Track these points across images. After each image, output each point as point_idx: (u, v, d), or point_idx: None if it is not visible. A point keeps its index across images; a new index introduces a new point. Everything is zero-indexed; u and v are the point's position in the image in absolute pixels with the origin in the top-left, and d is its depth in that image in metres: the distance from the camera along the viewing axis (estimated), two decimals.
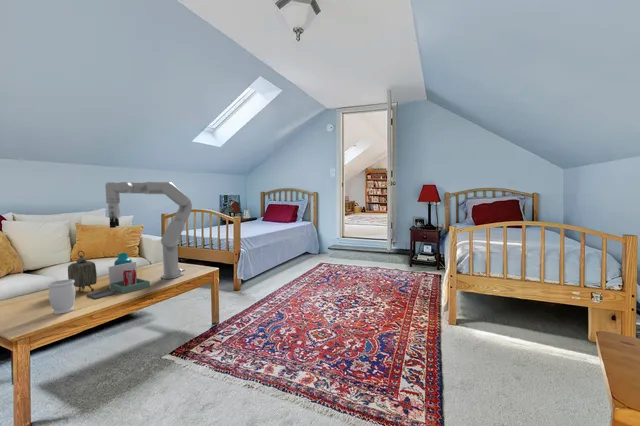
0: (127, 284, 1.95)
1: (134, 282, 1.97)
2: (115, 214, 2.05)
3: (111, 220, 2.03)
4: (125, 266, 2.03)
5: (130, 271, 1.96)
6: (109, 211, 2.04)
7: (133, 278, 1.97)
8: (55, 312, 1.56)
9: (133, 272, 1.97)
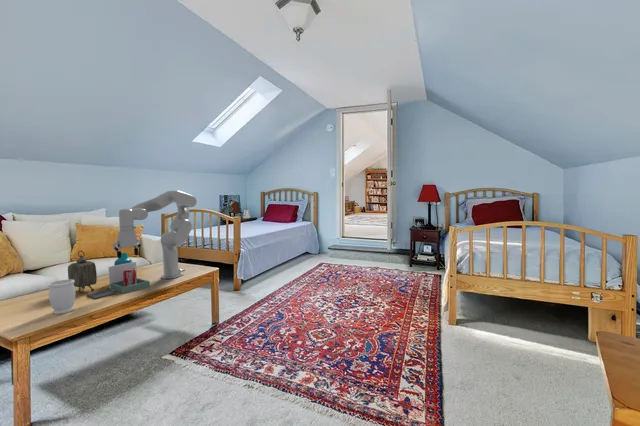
0: (127, 284, 1.95)
1: (134, 282, 1.97)
2: None
3: None
4: (125, 266, 2.03)
5: (130, 271, 1.96)
6: (136, 238, 2.00)
7: (133, 278, 1.97)
8: (55, 312, 1.56)
9: (133, 272, 1.97)
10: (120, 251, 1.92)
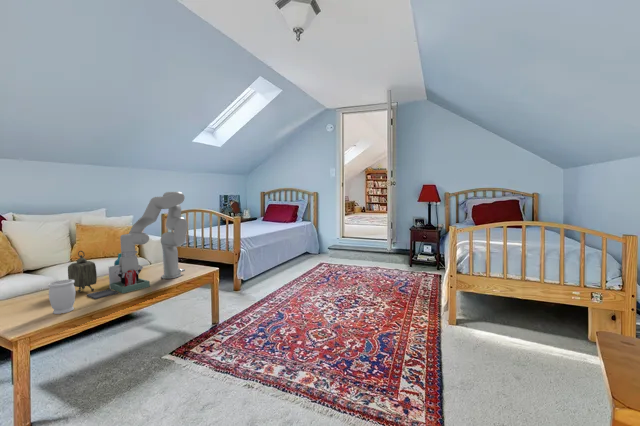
0: (127, 284, 1.95)
1: (134, 282, 1.97)
2: None
3: None
4: None
5: (130, 271, 1.96)
6: None
7: (133, 278, 1.97)
8: (55, 312, 1.56)
9: (133, 272, 1.97)
10: (124, 277, 1.94)
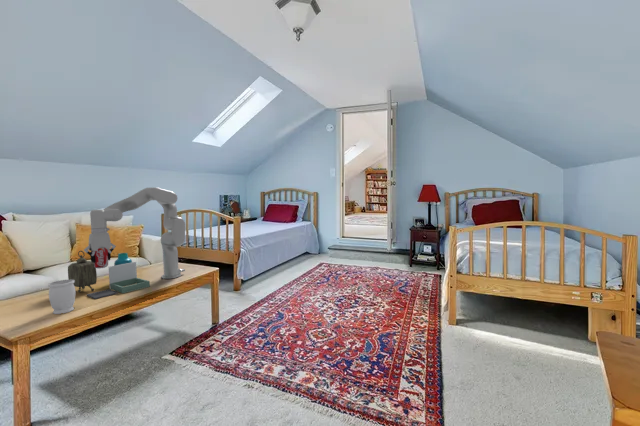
0: (97, 263, 1.81)
1: (105, 261, 1.84)
2: None
3: None
4: (125, 266, 2.03)
5: (101, 249, 1.82)
6: None
7: (104, 257, 1.83)
8: (55, 312, 1.56)
9: (104, 250, 1.83)
10: (94, 256, 1.81)
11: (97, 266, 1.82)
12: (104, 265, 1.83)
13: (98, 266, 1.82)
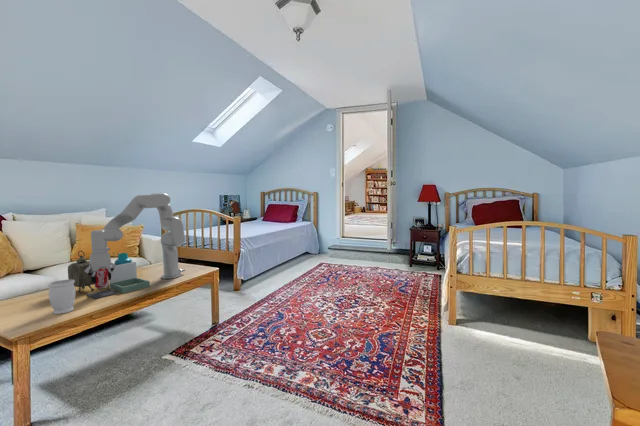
0: (98, 283, 1.82)
1: (106, 281, 1.84)
2: None
3: None
4: (125, 266, 2.03)
5: (101, 269, 1.83)
6: (110, 260, 1.88)
7: (105, 277, 1.84)
8: (55, 312, 1.56)
9: (105, 270, 1.84)
10: (94, 276, 1.81)
11: (98, 286, 1.82)
12: (105, 285, 1.84)
13: (99, 286, 1.82)
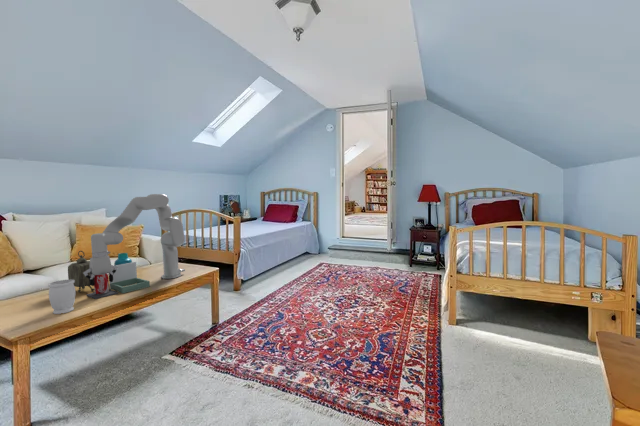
0: (98, 289, 1.82)
1: (106, 287, 1.84)
2: None
3: None
4: (125, 266, 2.03)
5: (101, 275, 1.83)
6: (110, 264, 1.88)
7: (105, 283, 1.84)
8: (55, 312, 1.56)
9: (105, 277, 1.84)
10: (92, 279, 1.80)
11: (98, 292, 1.82)
12: (105, 291, 1.84)
13: (99, 292, 1.82)
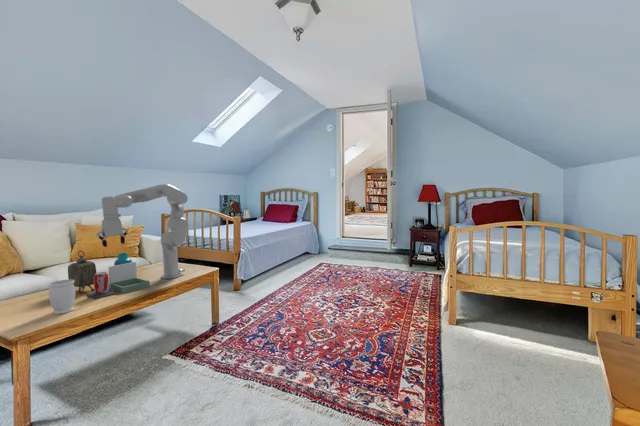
0: (98, 289, 1.82)
1: (106, 287, 1.84)
2: None
3: None
4: (125, 266, 2.03)
5: (101, 275, 1.83)
6: None
7: (105, 283, 1.84)
8: (55, 312, 1.56)
9: (105, 277, 1.84)
10: (105, 240, 1.86)
11: (98, 292, 1.82)
12: (105, 291, 1.84)
13: (99, 292, 1.82)
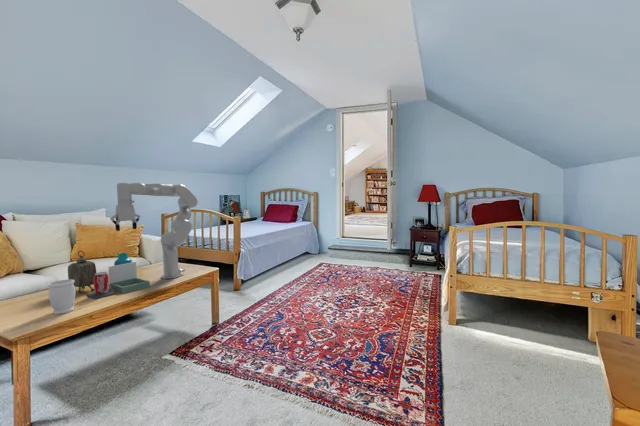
0: (98, 289, 1.82)
1: (106, 287, 1.84)
2: None
3: None
4: (125, 266, 2.03)
5: (101, 275, 1.83)
6: (134, 212, 2.01)
7: (105, 283, 1.84)
8: (55, 312, 1.56)
9: (105, 277, 1.84)
10: (118, 224, 1.94)
11: (98, 292, 1.82)
12: (105, 291, 1.84)
13: (99, 292, 1.82)
